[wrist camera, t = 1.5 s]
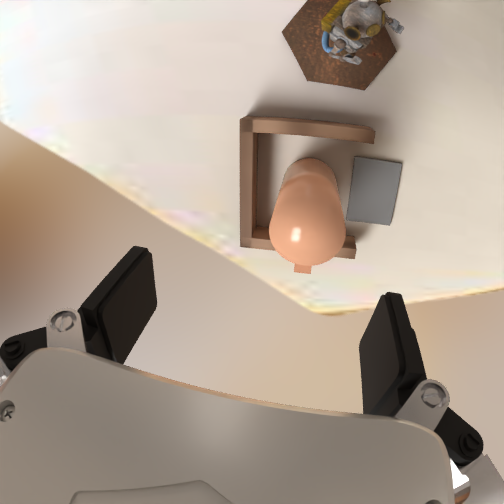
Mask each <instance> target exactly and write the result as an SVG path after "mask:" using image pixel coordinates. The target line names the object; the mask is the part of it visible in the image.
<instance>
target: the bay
mask: <svg viewBox="0 0 504 504" xmlns="http://www.w3.org/2000/svg"><path fill="white" fill-rule="evenodd" d="M258 133H275V134H290V135H302V136H313V137H323V138H332V139H341V140H349V141H356V142H363V143H370V144H374V138H375V131H374V130H373V129H372V128H370V127H366V126H359V125H352V124H344V123H336V122H327V121H318V120H307V119H294V118H279V117H258V116H245V117H243V118H241V119H240V247H246V248H256V249H265V250H275V248H274V247H273V245H272V243H271V240H270V235H269V227H259V226H256V207H257V151H258ZM356 250H357V249H356V244H355V239H354V236H346V237H345V241H344V244H343V246H342V248H341V249H340V251H339V252H338V253H337V254H336V255H335V256H334V257H340V258H349V259H355V254H356ZM275 251H276V250H275Z"/></svg>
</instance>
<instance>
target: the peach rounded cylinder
mask: <svg viewBox="0 0 504 504" xmlns="http://www.w3.org/2000/svg"><path fill="white" fill-rule="evenodd" d="M269 235H270V240H271V243H272V245H273V247H274V248H275V250H276V251H277V252H278V253H279V254H280V255H281V256H282V257H283V258H285V259H286V260H288V261H290V262H292V263H295V267H294V272H298V273H307V274H310V273H311V266H312V265H318V264H322V263H324V262H327V261H328V260H330V259H332V258H333V257H334V256H335V255H336V254H337V253H338V252H339V251H340V249H341V248H342V246H343V244H344V241H345V237H346V227H345V222H344V217H343V211H342V206H341V201H340V197H339V192H338V187H337V183H336V178H335V175H334V173H333V171H332V170H331V168H330V167H329V166H328V165H327V164H325V163H324V162H322V161H320V160H317V159H313V158H305V159H301V160H298V161H296V162H294V163H293V164H292V165H291V166H290V167H289V168H288V169H287V171H286V173H285V175H284V178H283V182H282V185H281V188H280V192H279V195H278V198H277V202H276V205H275V208H274V211H273V215H272V218H271V221H270V225H269Z"/></svg>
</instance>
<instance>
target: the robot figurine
mask: <svg viewBox="0 0 504 504" xmlns="http://www.w3.org/2000/svg"><path fill="white" fill-rule="evenodd" d="M386 2H391V1H390V0H377V2H375V1H371V0H308V1H307V2H306V3H305V4H304V5H303V7H302V8H301V9H300V10H299V11H298V13H297V14H296V15H295V16H294V17H293V19H292V20H291V21H290V22H289V24H288V25H287V26H286V27H285V29H284V30H283V31H282V33H283V35H284V37H285V39H286V41H287V42H288V44H289V46H290V48H291V50H292V52H293V54H294V56H295V57H296V59H297V61H298V63H299V65H300V67H301V69H302V71H303V73H304V75H305V77H306V79H307V81H313V82H320V83H326V84H333V85H339V86H344V87H350V88H355V89H360V90H365V89H366V88H367V87H368V85H369V84H370V83H371V82H372V81H373V79H374V78H375V77H376V76H377V75H378V73H379V72H380V71H381V70H382V69H383V67H384V66H385V65H386V64H387V63H388V61H389V60H390V59H391V58H392V57H393V55H394V54H395V53H396V52H397V51H396V49H395V47H394V45H393V43H392V41H391V39H390V36H389V34H388V32H387V30H386V28H385V26H384V25H385V24H386V22H388V23H389V26H390V27H391V28H392V29H393V30H394V31H395V32H397V33H399V34H401V32H402V31H403V29H404V27H403V26H401V25H399V22H398V21H397V20H395V19H391V18H389V17H388V16H387V15H386V14H385V11H383V10H382V9H381V7H380V5H381V4H383V3H386Z"/></svg>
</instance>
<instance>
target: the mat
mask: <svg viewBox="0 0 504 504" xmlns="http://www.w3.org/2000/svg"><path fill="white" fill-rule="evenodd" d="M401 167H402V164H401V163H396V162H390V161H384V160H378V159H371V158H364V157H357V156H355V158H354V167H353V175H352V182H351V190H350V197H349V204H348V210H347V217H346V220H349V221H358V222H366V223H374V224H382V225H389V226H390V223H391V219H392V214H393V209H394V205H395V200H396V195H397V189H398V184H399V178H400V173H401Z"/></svg>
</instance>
